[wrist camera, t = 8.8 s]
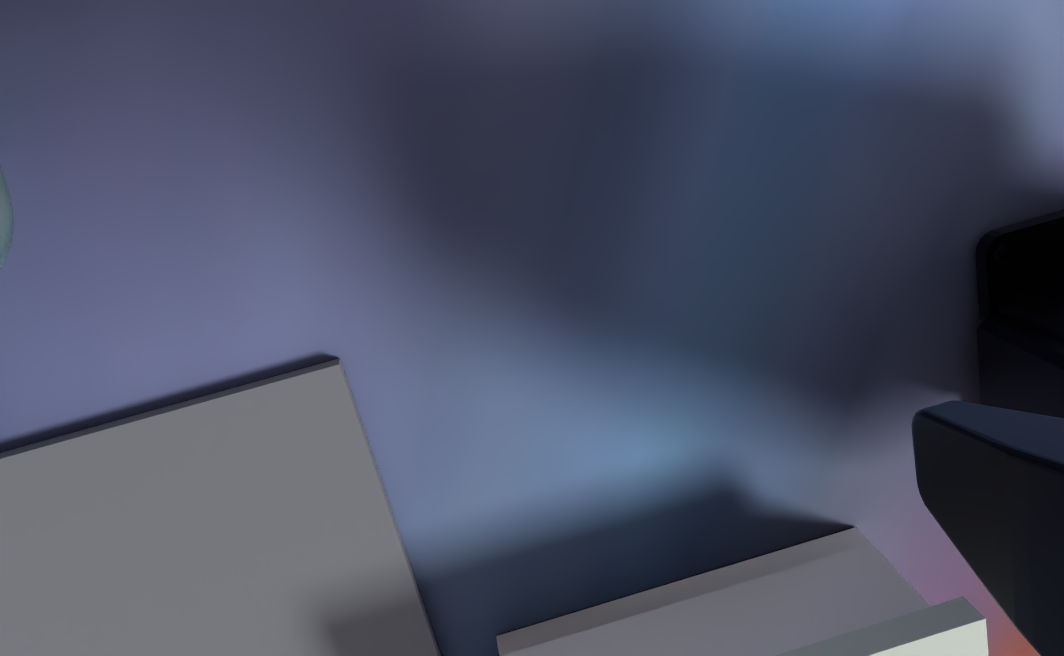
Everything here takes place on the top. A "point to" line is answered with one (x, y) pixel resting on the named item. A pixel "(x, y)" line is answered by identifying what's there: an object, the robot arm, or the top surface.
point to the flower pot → (5, 219)
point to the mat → (209, 533)
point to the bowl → (737, 607)
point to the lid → (912, 635)
